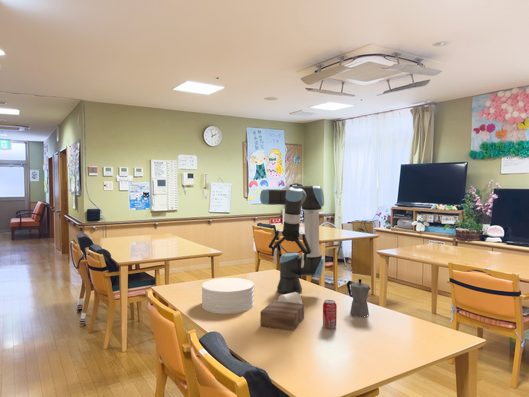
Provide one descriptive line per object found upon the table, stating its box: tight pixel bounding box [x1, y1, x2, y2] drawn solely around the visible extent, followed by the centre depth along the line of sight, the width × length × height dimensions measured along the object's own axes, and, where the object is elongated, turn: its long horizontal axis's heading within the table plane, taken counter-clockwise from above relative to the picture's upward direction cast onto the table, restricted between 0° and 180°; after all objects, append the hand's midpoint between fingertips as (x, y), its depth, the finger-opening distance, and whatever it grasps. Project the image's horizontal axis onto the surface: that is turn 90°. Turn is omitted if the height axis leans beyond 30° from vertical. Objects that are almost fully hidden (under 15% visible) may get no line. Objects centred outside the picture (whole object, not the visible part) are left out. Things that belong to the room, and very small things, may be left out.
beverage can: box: [322, 299, 338, 330], centre depth 177 cm, size 6×6×12 cm
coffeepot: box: [346, 278, 372, 318], centre depth 195 cm, size 15×9×18 cm, turn 33°
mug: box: [277, 292, 303, 304], centre depth 201 cm, size 12×10×8 cm
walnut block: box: [259, 300, 305, 332], centre depth 183 cm, size 18×16×7 cm
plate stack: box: [201, 277, 255, 315], centre depth 209 cm, size 28×28×12 cm
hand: (288, 264), depth 183 cm, fingers open, 13 cm apart
